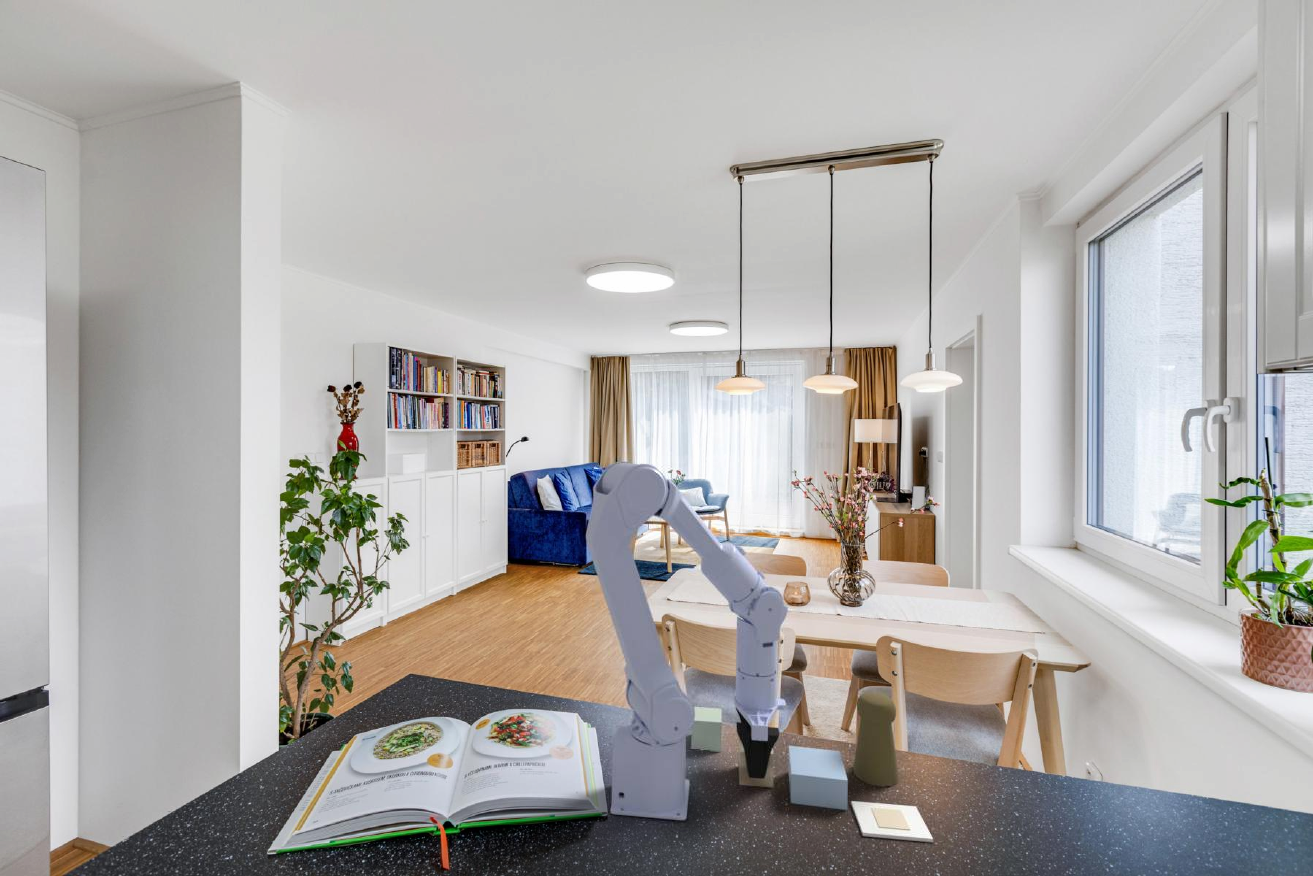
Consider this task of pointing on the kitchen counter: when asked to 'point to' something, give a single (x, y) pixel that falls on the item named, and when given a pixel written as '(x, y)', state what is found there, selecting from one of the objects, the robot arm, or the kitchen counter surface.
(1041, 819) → the kitchen counter surface
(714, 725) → the sage green block
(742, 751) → the birch block
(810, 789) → the blue base block
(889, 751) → the cork
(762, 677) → the robot arm
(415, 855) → the kitchen counter surface
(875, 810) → the tile
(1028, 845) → the kitchen counter surface
